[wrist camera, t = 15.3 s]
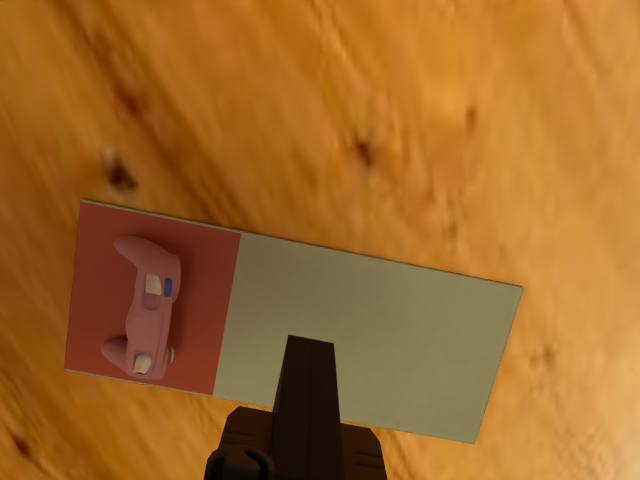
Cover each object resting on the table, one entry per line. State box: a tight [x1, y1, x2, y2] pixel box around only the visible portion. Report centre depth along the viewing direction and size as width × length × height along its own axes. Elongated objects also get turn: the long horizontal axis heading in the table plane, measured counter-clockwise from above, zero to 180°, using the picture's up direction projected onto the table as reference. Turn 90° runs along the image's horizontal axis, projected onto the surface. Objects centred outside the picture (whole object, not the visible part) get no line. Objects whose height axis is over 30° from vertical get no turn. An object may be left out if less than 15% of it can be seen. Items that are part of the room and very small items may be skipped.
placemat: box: [64, 199, 523, 444], centre depth 40 cm, size 34×14×1 cm, turn 78°
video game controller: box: [101, 236, 181, 380], centre depth 36 cm, size 10×5×7 cm, turn 168°
